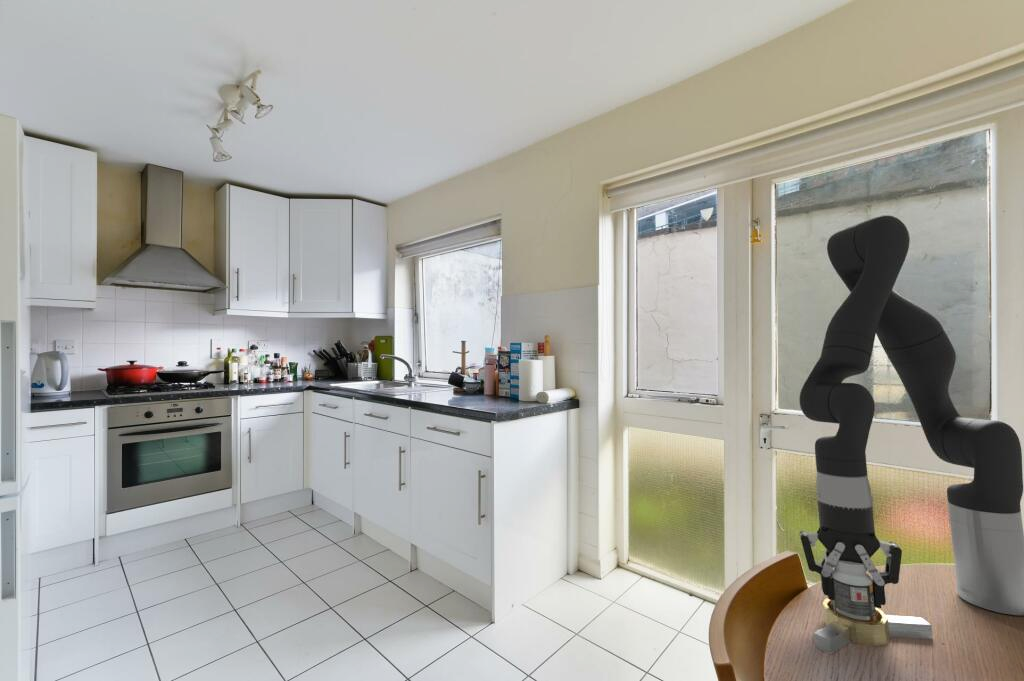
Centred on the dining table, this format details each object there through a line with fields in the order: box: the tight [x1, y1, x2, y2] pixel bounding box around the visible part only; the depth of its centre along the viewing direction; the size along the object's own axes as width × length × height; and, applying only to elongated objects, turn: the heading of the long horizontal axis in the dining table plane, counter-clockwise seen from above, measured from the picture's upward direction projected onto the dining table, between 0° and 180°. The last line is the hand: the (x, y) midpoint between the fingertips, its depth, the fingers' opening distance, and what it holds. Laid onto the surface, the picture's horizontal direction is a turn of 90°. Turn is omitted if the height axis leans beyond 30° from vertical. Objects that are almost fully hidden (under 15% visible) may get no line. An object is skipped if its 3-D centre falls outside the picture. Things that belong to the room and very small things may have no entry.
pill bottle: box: [830, 560, 877, 623], centre depth 73 cm, size 6×6×10 cm
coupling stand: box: [813, 597, 934, 655], centre depth 73 cm, size 20×9×3 cm, turn 98°
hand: (852, 601), depth 73 cm, fingers closed on pill bottle, 5 cm apart
